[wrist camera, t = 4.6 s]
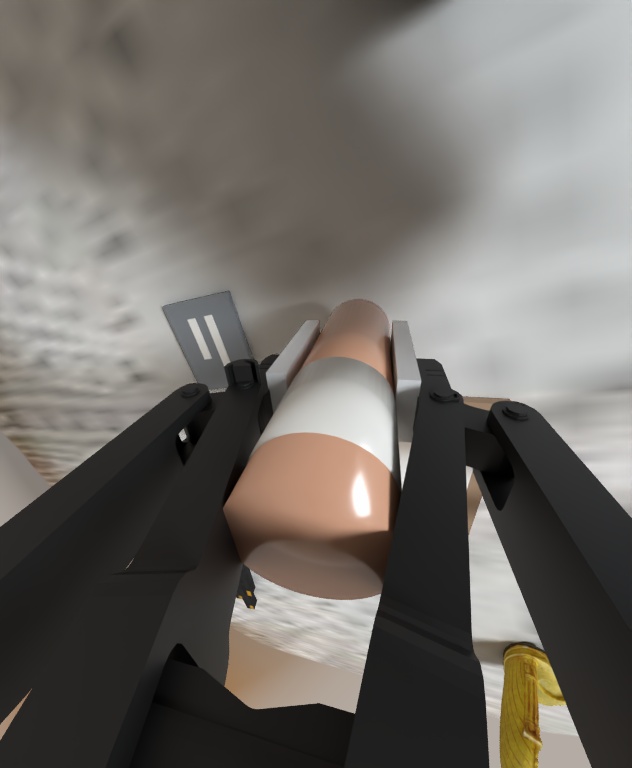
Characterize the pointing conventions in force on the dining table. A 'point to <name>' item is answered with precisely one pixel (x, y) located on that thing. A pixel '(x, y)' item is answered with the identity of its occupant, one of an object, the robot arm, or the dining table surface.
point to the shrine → (525, 703)
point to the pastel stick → (326, 467)
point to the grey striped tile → (209, 336)
